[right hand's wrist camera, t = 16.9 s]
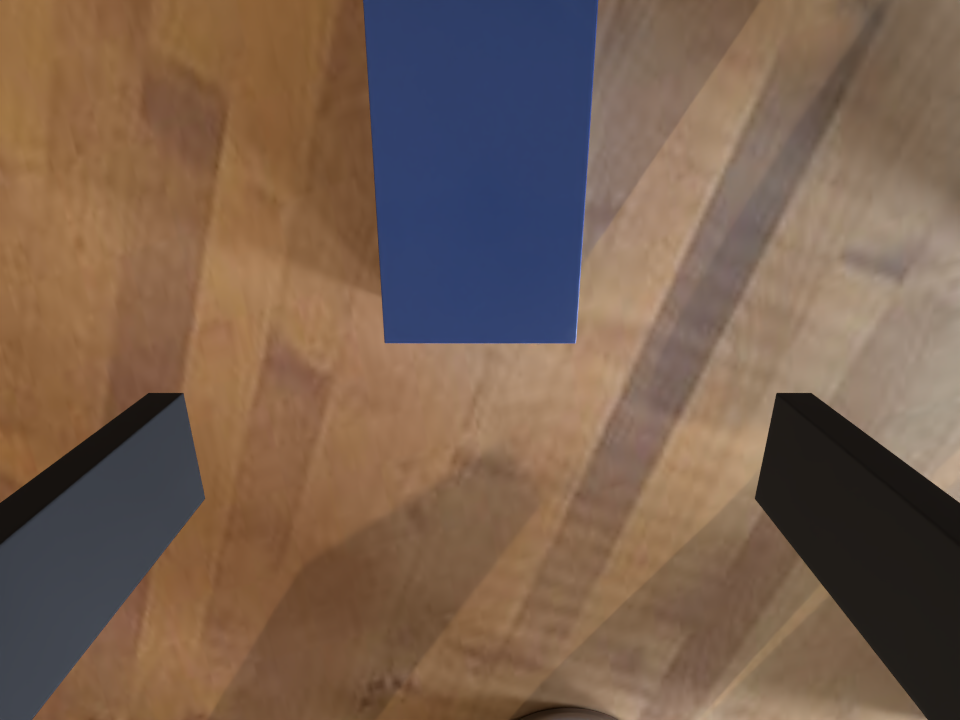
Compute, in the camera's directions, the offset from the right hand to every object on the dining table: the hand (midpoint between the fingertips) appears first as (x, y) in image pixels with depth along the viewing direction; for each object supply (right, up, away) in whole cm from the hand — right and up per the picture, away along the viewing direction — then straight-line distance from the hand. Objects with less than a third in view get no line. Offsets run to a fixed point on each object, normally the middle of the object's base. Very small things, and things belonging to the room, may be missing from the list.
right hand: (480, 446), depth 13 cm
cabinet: (0, +14, +22) cm, 26 cm away
